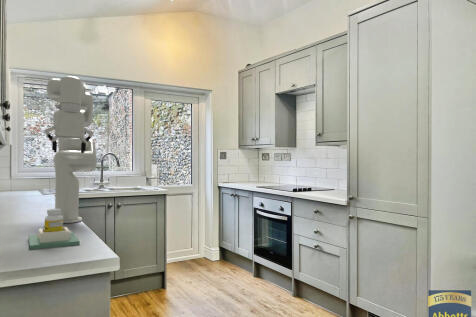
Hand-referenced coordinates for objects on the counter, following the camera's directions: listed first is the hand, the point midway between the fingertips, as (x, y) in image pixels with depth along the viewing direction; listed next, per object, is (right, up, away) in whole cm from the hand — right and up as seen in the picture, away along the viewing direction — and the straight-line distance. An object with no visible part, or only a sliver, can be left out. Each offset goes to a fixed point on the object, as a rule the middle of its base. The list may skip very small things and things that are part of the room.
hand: (69, 152), depth 138 cm
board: (+4, -30, -20) cm, 36 cm away
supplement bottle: (+5, -29, -21) cm, 36 cm away
